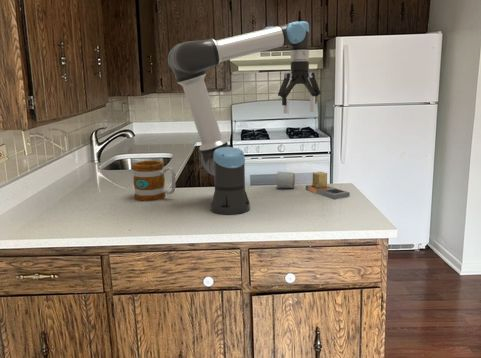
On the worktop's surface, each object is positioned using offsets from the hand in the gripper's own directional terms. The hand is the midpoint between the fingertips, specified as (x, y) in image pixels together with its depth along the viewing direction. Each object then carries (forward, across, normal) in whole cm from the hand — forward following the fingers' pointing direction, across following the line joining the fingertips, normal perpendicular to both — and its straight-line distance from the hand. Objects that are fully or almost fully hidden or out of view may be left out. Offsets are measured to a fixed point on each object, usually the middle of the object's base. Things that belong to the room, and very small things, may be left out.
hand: (299, 112), depth 197 cm
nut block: (+35, +9, -3) cm, 36 cm away
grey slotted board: (+35, +9, -8) cm, 37 cm away
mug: (+35, -57, +25) cm, 71 cm away
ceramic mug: (+35, 0, +11) cm, 37 cm away
